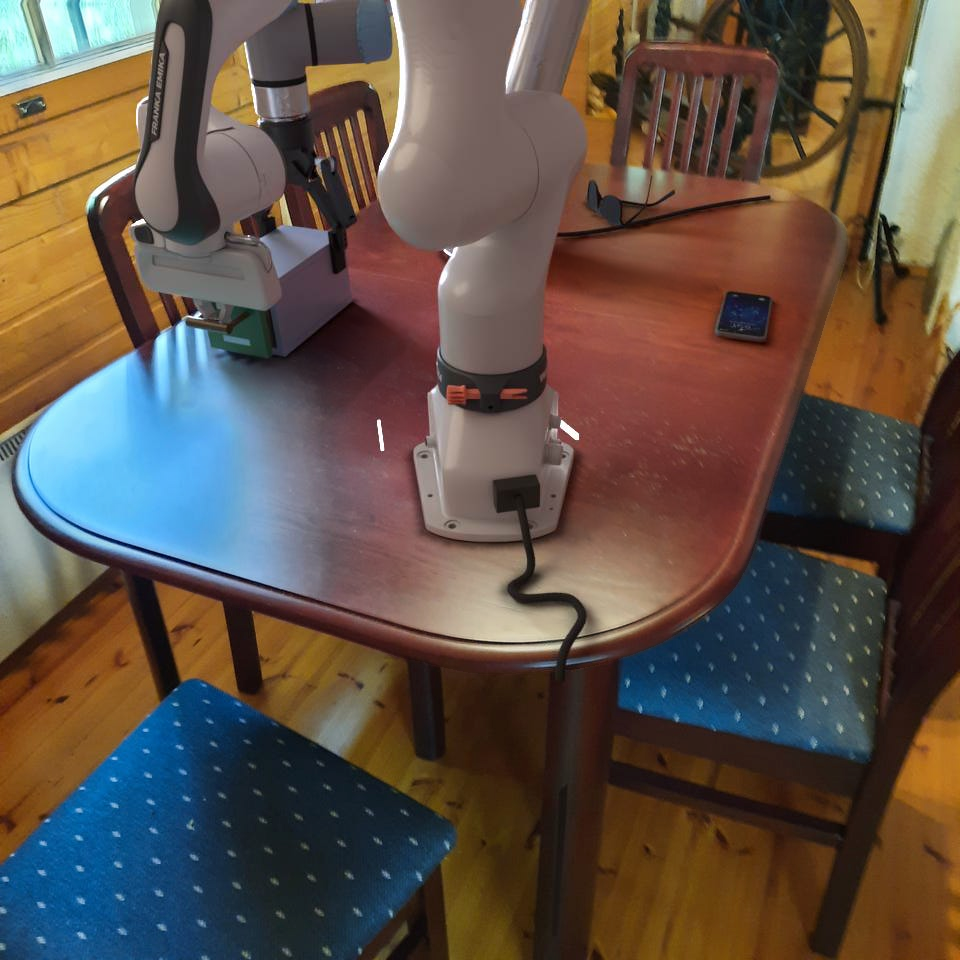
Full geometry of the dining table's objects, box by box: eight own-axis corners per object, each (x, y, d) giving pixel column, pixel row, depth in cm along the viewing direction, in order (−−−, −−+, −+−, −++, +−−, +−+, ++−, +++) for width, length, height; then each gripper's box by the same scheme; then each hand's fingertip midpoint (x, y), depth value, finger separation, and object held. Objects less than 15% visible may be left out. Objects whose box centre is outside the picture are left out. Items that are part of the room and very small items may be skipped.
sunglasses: (684, 220, 161) (688, 194, 158) (614, 230, 158) (616, 203, 155) (646, 193, 174) (648, 168, 171) (580, 201, 171) (581, 176, 168)
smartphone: (773, 295, 132) (766, 339, 121) (772, 301, 133) (765, 345, 121) (725, 289, 134) (713, 331, 123) (724, 295, 135) (712, 337, 123)
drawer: (245, 377, 115) (232, 315, 110) (187, 364, 118) (171, 304, 113) (334, 305, 133) (326, 249, 127) (281, 296, 136) (271, 241, 130)
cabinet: (284, 356, 122) (271, 283, 115) (221, 344, 125) (204, 272, 119) (352, 301, 136) (344, 232, 130) (293, 291, 140) (282, 224, 133)
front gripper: (281, 229, 106) (298, 330, 115) (150, 210, 113) (174, 307, 121) (252, 247, 102) (271, 351, 110) (117, 227, 108) (145, 326, 117)
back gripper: (371, 114, 118) (385, 266, 131) (230, 102, 125) (256, 247, 138) (344, 128, 112) (361, 285, 125) (198, 115, 120) (229, 264, 133)
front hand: (219, 328), depth 116 cm, fingers closed
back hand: (306, 265), depth 132 cm, fingers closed on cabinet, 11 cm apart
